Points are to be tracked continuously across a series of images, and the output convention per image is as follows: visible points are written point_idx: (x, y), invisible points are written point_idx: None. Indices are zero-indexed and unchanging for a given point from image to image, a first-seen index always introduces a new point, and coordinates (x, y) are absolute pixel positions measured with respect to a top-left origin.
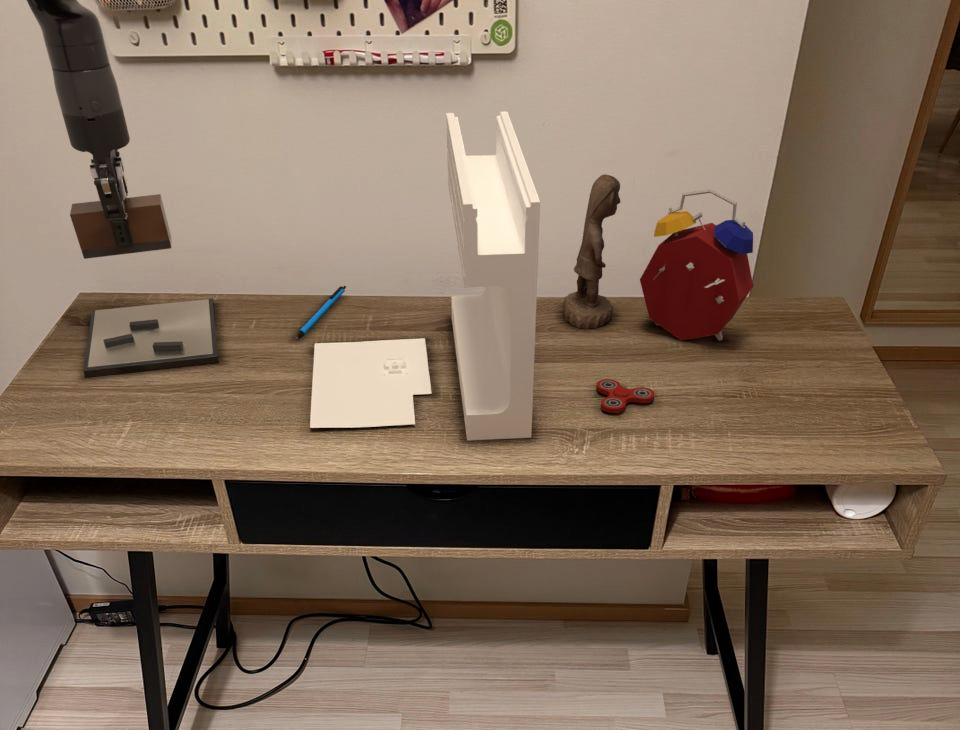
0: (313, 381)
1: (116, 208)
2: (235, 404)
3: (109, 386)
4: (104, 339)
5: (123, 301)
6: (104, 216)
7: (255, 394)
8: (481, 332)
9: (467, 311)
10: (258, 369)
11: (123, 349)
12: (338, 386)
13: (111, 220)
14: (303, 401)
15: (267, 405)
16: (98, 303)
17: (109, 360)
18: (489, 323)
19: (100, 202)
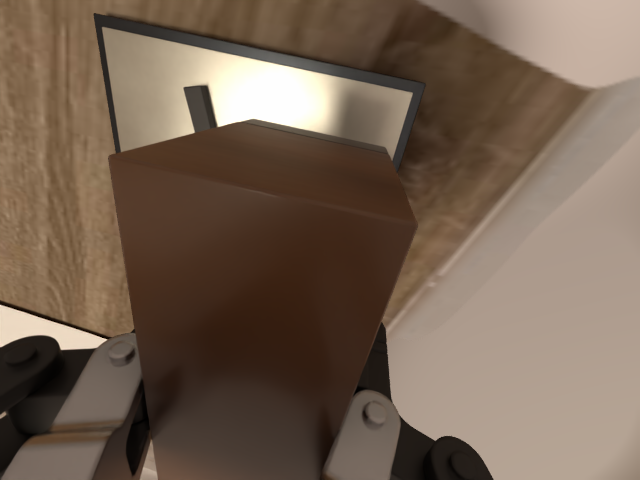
0: (71, 328)
1: (163, 418)
2: (19, 240)
3: (68, 65)
4: (198, 88)
5: (471, 168)
6: (8, 351)
7: (47, 268)
8: None
9: (156, 477)
10: (116, 290)
11: (175, 122)
12: (60, 342)
13: (64, 350)
14: (33, 304)
15: (20, 271)
16: (501, 108)
17: (129, 83)
18: None
19: (311, 391)
